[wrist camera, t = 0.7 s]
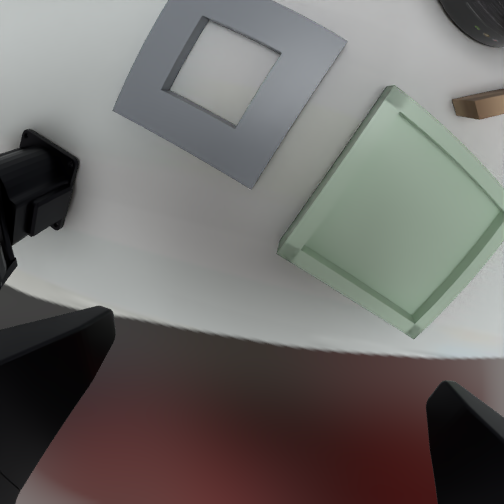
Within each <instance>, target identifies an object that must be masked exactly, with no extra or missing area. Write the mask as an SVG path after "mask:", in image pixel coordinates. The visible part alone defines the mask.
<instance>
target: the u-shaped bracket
mask: <svg viewBox="0 0 504 504" xmlns="http://www.w3.org/2000/svg"><path fill="white" fill-rule="evenodd" d="M452 101H453V105H454V108H455V112H456V115H457V116H462V117H468V118H474V119H479V120H480V119H484V118H488V117H492V116H496V115H501V114H504V89H499V90H494V91H489V92H484V93H479V94H475V95H470V96H466V97H461V98H457V99H452Z"/></svg>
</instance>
